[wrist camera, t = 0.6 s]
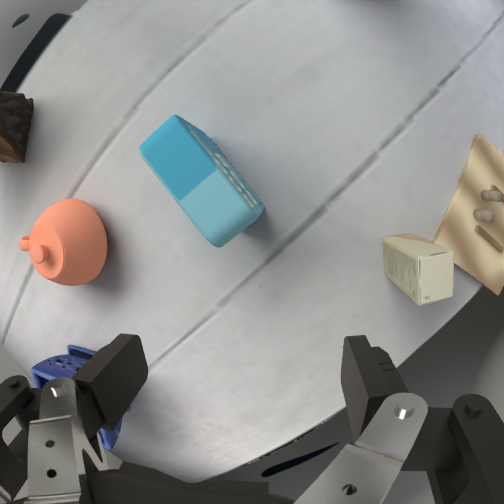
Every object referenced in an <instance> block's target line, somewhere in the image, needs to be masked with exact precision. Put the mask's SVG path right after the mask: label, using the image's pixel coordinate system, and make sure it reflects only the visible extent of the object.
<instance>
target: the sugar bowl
mask: <svg viewBox="0 0 504 504" xmlns="http://www.w3.org/2000/svg"><path fill="white" fill-rule="evenodd" d="M20 248H21V250H24V251H29V253H30V257H31V260H32V263H33V265H34V267H35V268H36V270H37V271H38V272H39V273H40V274H41V275H42V276H43V277H45V278H47V279H48V280H51V281H53V282H56V283H58V284H62V285H68V286H75V285H81V284H85V283H87V282H90V281H91V280H93V279H94V278H96V277H97V276H98V274H99V273H100V272H101V270H102V268H103V266H104V264H105V260H106V256H107V237H106V232H105V228H104V225H103V223H102V221H101V219H100V217H99V215H98V214H97V212H96V211H95V210H94V209H93V208H92V207H91V206H90V205H89V204H87V203H86V202H84V201H82V200H79V199H74V198H73V199H65V200H61V201H59V202H57V203H55V204H53V205H52V206H50V207H49V208H48V209H46V210H45V211H44V212H43V213H42V215H41V216H40V217H39V219H38V220H37V222H36V223H35V225H34V227H33V229H32V231H31V233H30V236H27V237H23V238H21V239H20Z"/></svg>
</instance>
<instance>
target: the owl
mask: <svg viewBox="0 0 504 504" xmlns="http://www.w3.org/2000/svg"><path fill="white" fill-rule="evenodd" d="M33 108H34V105H33V99H32V98H30V99H26V98H25V95H24V94H22V93H13V92H8V91H0V161H2V162H13V163H16V162H22V163H24V162H25V152H26V144H27V139H28V131H29V128H30V119H31V116H32V113H33Z"/></svg>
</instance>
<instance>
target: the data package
mask: <svg viewBox="0 0 504 504" xmlns="http://www.w3.org/2000/svg"><path fill="white" fill-rule="evenodd" d="M139 152H140V154H141V156H142V157H143V159H144V160H145V161H146V163H147V164H148V165H149V167H150V168H151V169H152V171H153V172H154V173H155V175H156V176H157V177H158V178H159V180H160V181H161V182H162V184H163V185H164V186H165V187H166V189H167V190H168V191H169V193H170V194H171V195H172V196H173V198H174V199H175V200H176V202H177V203H178V204H179V205H180V207H181V208H182V209H183V211H184V212H185V213H186V214H187V216H188V217H189V218H190V219H191V221H192V222H193V223H194V224H195V226H196V227H197V228H198V229H199V231H200V232H201V233H202V235H203V236H204V237H205V238H206V239H207V240H208V241H209V242H210V243H211V244H212V245H214V246H216V247H222V246H223V245H225V244H226V243H227V242H229V241H230V240H231V239H232V238H234V237H235V236H236V235H237V234H239V233H240V232H241V231H243V230H244V229H245V228H246V227H248V226H249V225H250V224H251V223H253V222H254V221H255V220H257V219H258V218H259V216H260V215H261V214H262V212H263V211H264V209H265V207H264V205H263V204H262V202H261V201H260V199H259V198H258V197H257V195H256V194H255V193H254V192H253V190H252V189H251V188H250V187H249V185H248V184H247V183H246V182H245V181H244V179H243V178H242V177H241V176H240V174H239V173H238V172H237V171H236V169H235V168H234V167H233V166H232V165H231V163H230V162H229V161H228V160H227V158H226V157H225V156H224V155H223V154H222V152H221V151H220V150H219V149H218V148H217V146H216V145H215V144H214V143H213V142H212V140H211V139H210V138H209V137H208V136H207V135H206V134H205V133H204V132H203V131H201V130H200V129H198V128H197V127H195V126H193V125H192V124H190V123H189V122H187V121H186V120H184V119H182V118H181V117H179V116H178V115H172V116H171V117H170V118H169V119H168V120H167V121H166V122H165V123H163V124H162V125H161V126H160V127H159V128H158V129H157V130H156V131H155V132H154V133H153V134H152V135H151V136H150V137H149V138H148V139H147V140H145V141H144V142H143V143H142V144H141V145H140V147H139Z"/></svg>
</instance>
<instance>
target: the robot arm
mask: <svg viewBox="0 0 504 504" xmlns="http://www.w3.org/2000/svg"><path fill="white" fill-rule="evenodd" d="M147 377H148V366H147V362H146V359H145V355H144V351H143V347H142V343H141V339H140V337H139V336H138V335H133V334H119V335H118V336H117V337H116V338H115V339H114V340H113V341H112V342H111V343H110V344H108V345H106V346H105V347H103V348H101V349H100V350H98V351H97V352H96V353H95V354H94V355H93V357H91V358H90V359H89V360H88V362H86V363H85V364H84V365H83V366H82V367H81V368H80V369H79V370H78V371H77V372H76V373H75V374H74V375H73V376H72V377H71V378H67V377H59V378H55V379H52V380H50V381H48V382H47V383H46V384H45V385H44V386H43V388H31V386H30V384H29V382H28V380H27V378H26V377H24V376H21V375H16V376H12V377H10V378H8V379H6V380H5V381H3V383H1V384H0V504H382V502H383V500H384V499H385V497H386V496H387V494H388V492H389V491H390V489H391V487H392V486H393V484H394V482H395V481H396V479H397V477H398V475H399V474H400V472H401V471H427V475H428V478H429V482H430V485H431V489H432V493H433V497H434V500H435V504H504V423H503V421H502V420H501V418H500V416H499V415H498V413H497V412H496V410H495V409H494V407H493V406H492V404H491V403H490V402H489V400H487V399H486V398H485V397H483V396H480V395H477V394H466V395H463V396H460V397H459V398H458V399H456V401H455V402H454V405H453V407H452V408H431V407H427V404H426V402H425V401H424V400H423V399H422V398H421V397H419V396H417V395H415V394H411V393H409V392H408V390H407V388H406V386H405V384H404V382H403V380H402V378H401V377H400V375H399V373H398V371H397V370H396V367H395V365H394V364H393V363H392V360H391V358H390V356H389V354H388V353H387V352H385V351H384V350H383V349H381V348H380V347H371V346H370V344H369V342H368V340H367V338H366V336H365V335H358V336H346V337H345V339H344V346H343V357H342V366H341V385H342V390H343V394H344V398H345V402H346V406H347V410H348V415H349V419H350V424H351V428H352V432H353V437H354V442H355V443H354V444H353V443H348V444H347V445H346V446H345V447H344V448H343V450H342V451H341V452H340V453H339V454H338V456H337V457H336V458H335V459H334V461H333V462H332V463H331V464H330V465H329V466H328V467H327V469H326V470H325V471H324V472H323V473H322V474H321V475H320V477H319V478H318V479H317V480H316V481H315V482H314V483H313V484H312V485H311V486H310V487H309V488H308V489H307V490H306V491H305V492H304V493H303V494H302V496H301V497H299V499H298V500H296V501H295V500H293V499H290V498H288V497H286V496H283V495H279V494H276V493H272V492H269V483H268V482H246V481H232V480H227V481H217V482H202V483H187V482H184V481H181V480H179V479H176V478H174V477H172V476H169V475H167V474H165V473H163V472H160V471H158V470H156V469H153V468H149V467H144V466H140V465H136V464H133V463H129V462H125V461H123V463H122V464H121V466H120V468H119V469H112V470H108V466H107V463H106V459H105V455H104V451H103V446H102V442H101V438H100V435H99V433H98V431H99V429H100V428H101V429H104V430H108V431H113V430H114V428H115V427H116V425H117V424H118V422H119V421H120V419H121V418H122V416H123V415H124V413H125V412H126V410H127V409H128V407H129V406H130V404H131V403H132V401H133V400H134V398H135V397H136V395H137V394H138V392H139V391H140V389H141V388H142V386H143V385H144V383H145V382H146V380H147ZM14 416H15V418H16V420H17V421H18V423H19V425H20V426H21V428H22V430H21V431H20V433H19V434H18V435H17V436H16V437H15V438H14V440H13V441H12V442H11V443H10V444H9V446H7V445H6V443H5V442H4V440H3V438H2V431H3V429H4V427H5V426H6V425H7V424H8V423H9V422H10V421H11V420H12V419H13V417H14ZM27 479H28V497H25V498H22V499H19V500H15V501H13V499H14V498H15V496H16V495H17V493H18V492H19V490H20V489H21V487H22V486H23V484H24V483H25V482H26V480H27Z"/></svg>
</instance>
